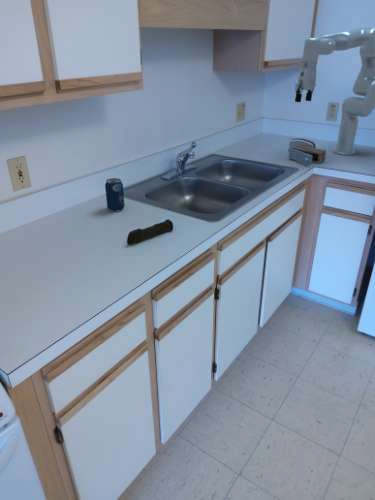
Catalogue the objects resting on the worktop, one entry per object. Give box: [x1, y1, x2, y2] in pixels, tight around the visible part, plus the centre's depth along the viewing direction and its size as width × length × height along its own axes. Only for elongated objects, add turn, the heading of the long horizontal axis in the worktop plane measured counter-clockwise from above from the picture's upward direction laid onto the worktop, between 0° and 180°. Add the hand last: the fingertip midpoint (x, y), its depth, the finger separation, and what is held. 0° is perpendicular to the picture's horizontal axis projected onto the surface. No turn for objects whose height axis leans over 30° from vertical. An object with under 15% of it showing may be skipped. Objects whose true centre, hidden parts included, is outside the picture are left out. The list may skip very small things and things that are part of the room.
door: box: [288, 148, 313, 166], centre depth 215 cm, size 2×17×5 cm, turn 27°
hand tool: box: [126, 219, 174, 246], centre depth 135 cm, size 19×4×5 cm, turn 130°
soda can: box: [104, 177, 126, 212], centre depth 155 cm, size 7×7×12 cm
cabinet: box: [292, 145, 327, 165], centre depth 220 cm, size 8×17×6 cm, turn 53°
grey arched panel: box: [288, 137, 317, 152], centre depth 233 cm, size 17×5×10 cm, turn 50°
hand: (303, 101), depth 205 cm, fingers open, 9 cm apart
